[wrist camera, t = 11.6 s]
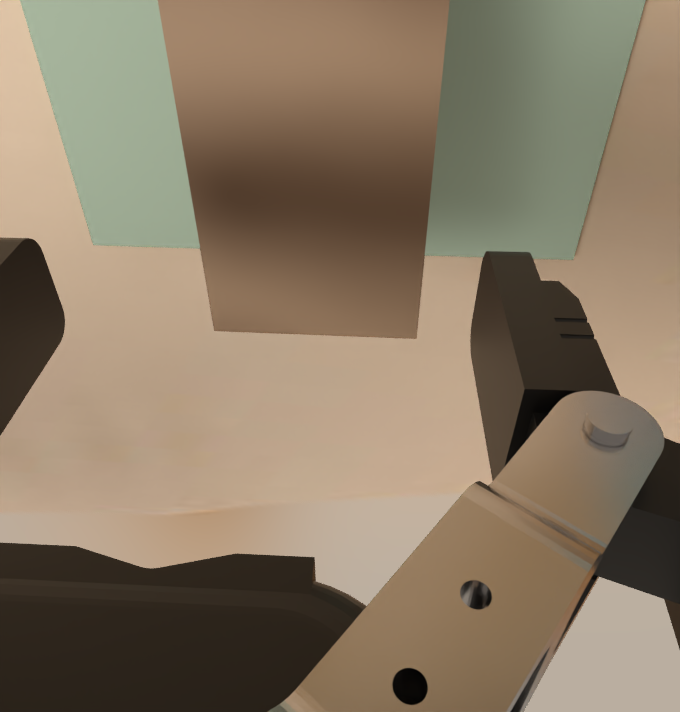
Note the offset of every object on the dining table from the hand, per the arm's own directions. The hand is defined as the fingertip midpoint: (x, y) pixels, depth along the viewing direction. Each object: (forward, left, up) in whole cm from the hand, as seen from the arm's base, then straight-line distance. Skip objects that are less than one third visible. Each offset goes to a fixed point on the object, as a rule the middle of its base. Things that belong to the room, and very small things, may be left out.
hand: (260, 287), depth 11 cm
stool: (0, 0, -13) cm, 13 cm away
